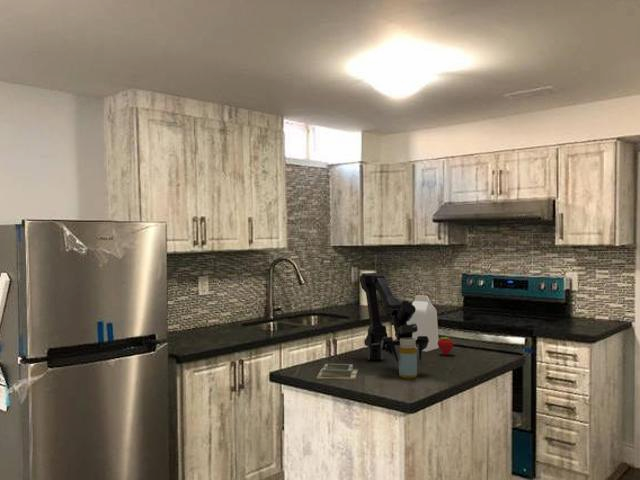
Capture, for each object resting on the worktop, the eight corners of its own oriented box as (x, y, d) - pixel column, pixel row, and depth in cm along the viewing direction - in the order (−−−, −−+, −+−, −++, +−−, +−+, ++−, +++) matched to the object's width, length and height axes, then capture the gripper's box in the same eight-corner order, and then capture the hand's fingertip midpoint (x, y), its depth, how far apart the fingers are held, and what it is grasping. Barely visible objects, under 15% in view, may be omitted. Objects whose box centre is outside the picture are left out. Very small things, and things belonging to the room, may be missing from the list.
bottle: (414, 374, 230) (414, 337, 230) (418, 378, 223) (418, 340, 223) (397, 374, 230) (397, 337, 229) (400, 379, 223) (400, 340, 222)
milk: (405, 348, 282) (405, 295, 282) (418, 344, 291) (418, 293, 291) (426, 351, 274) (426, 297, 274) (439, 347, 283) (438, 295, 282)
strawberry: (450, 357, 261) (450, 335, 261) (435, 355, 265) (435, 334, 265) (455, 355, 266) (455, 333, 266) (440, 353, 270) (440, 332, 270)
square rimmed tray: (321, 369, 238) (321, 362, 238) (357, 370, 236) (357, 363, 236) (316, 379, 224) (316, 371, 224) (354, 380, 222) (354, 372, 222)
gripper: (382, 317, 229) (389, 350, 218) (427, 315, 231) (436, 348, 220) (377, 333, 237) (384, 366, 226) (421, 332, 239) (430, 364, 228)
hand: (408, 360), depth 225 cm, fingers open, 9 cm apart
